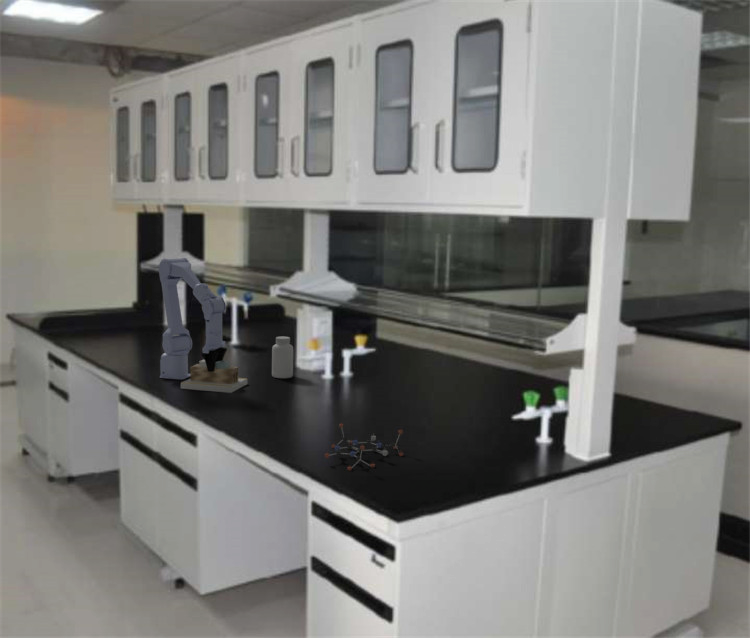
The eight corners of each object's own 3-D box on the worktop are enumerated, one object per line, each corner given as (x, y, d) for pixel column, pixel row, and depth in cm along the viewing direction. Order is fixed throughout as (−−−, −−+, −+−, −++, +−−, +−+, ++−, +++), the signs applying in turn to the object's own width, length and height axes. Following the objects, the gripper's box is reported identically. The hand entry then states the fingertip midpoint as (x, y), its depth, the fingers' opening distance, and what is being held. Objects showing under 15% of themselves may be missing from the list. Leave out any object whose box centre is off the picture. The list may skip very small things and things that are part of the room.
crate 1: (199, 366, 284) (199, 361, 284) (204, 364, 288) (204, 359, 288) (209, 367, 284) (209, 362, 283) (213, 365, 287) (213, 360, 287)
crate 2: (215, 368, 283) (215, 362, 283) (219, 366, 287) (219, 360, 286) (225, 368, 282) (225, 363, 282) (229, 366, 286) (229, 361, 285)
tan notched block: (190, 380, 285) (190, 366, 284) (197, 377, 290) (196, 364, 289) (232, 383, 281) (232, 369, 281) (238, 380, 286) (238, 367, 285)
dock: (180, 388, 281) (180, 382, 281) (198, 380, 295) (198, 374, 295) (231, 392, 277) (231, 386, 277) (247, 384, 290) (247, 378, 290)
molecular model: (417, 456, 214) (366, 438, 228) (418, 430, 212) (367, 414, 227) (350, 475, 197) (299, 455, 212) (350, 447, 196) (300, 429, 211)
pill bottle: (289, 379, 299) (289, 339, 297) (268, 378, 301) (269, 338, 299) (295, 375, 307) (296, 336, 305) (275, 373, 309) (275, 335, 306)
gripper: (215, 335, 275) (216, 374, 277) (233, 329, 289) (233, 366, 291) (196, 334, 277) (197, 373, 279) (215, 328, 291) (215, 365, 293)
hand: (214, 369), depth 285 cm, fingers closed on tan notched block, 5 cm apart
